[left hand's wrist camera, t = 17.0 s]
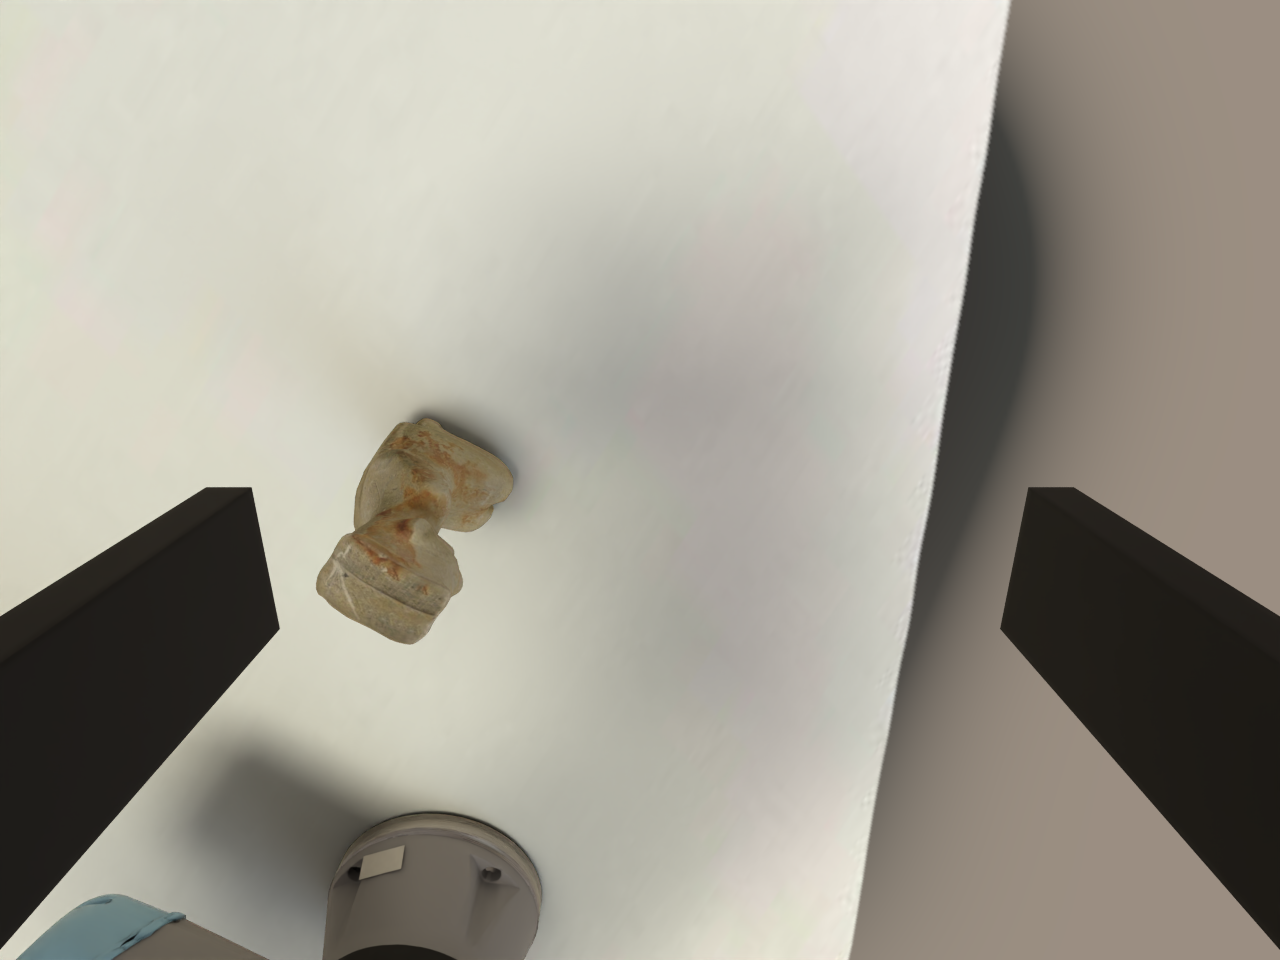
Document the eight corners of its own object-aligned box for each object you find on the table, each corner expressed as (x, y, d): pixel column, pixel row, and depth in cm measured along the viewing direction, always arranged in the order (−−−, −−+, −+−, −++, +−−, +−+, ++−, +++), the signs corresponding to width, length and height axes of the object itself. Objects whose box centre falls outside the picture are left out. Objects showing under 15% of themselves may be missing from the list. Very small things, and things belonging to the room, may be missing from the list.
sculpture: (473, 534, 44) (394, 685, 30) (373, 461, 42) (240, 584, 28) (531, 465, 42) (477, 589, 28) (430, 387, 41) (319, 478, 27)
